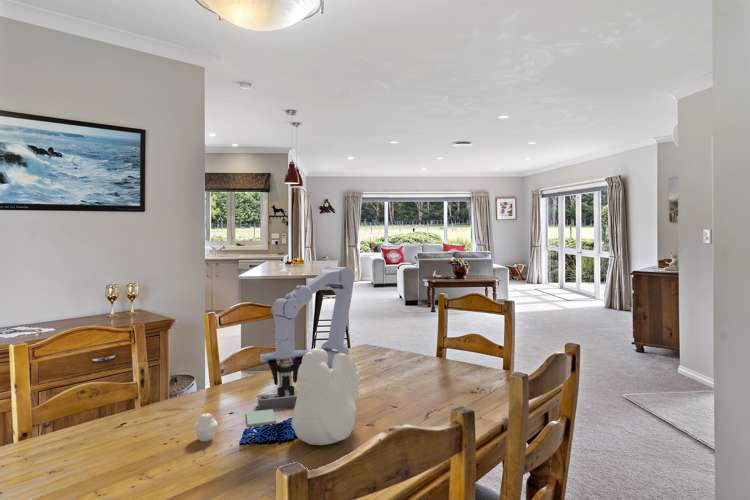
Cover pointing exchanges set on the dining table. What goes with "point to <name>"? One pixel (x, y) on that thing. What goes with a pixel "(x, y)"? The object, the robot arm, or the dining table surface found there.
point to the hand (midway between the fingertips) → (285, 382)
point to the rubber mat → (260, 417)
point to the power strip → (276, 401)
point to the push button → (285, 379)
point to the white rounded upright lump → (325, 398)
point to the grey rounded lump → (205, 427)
